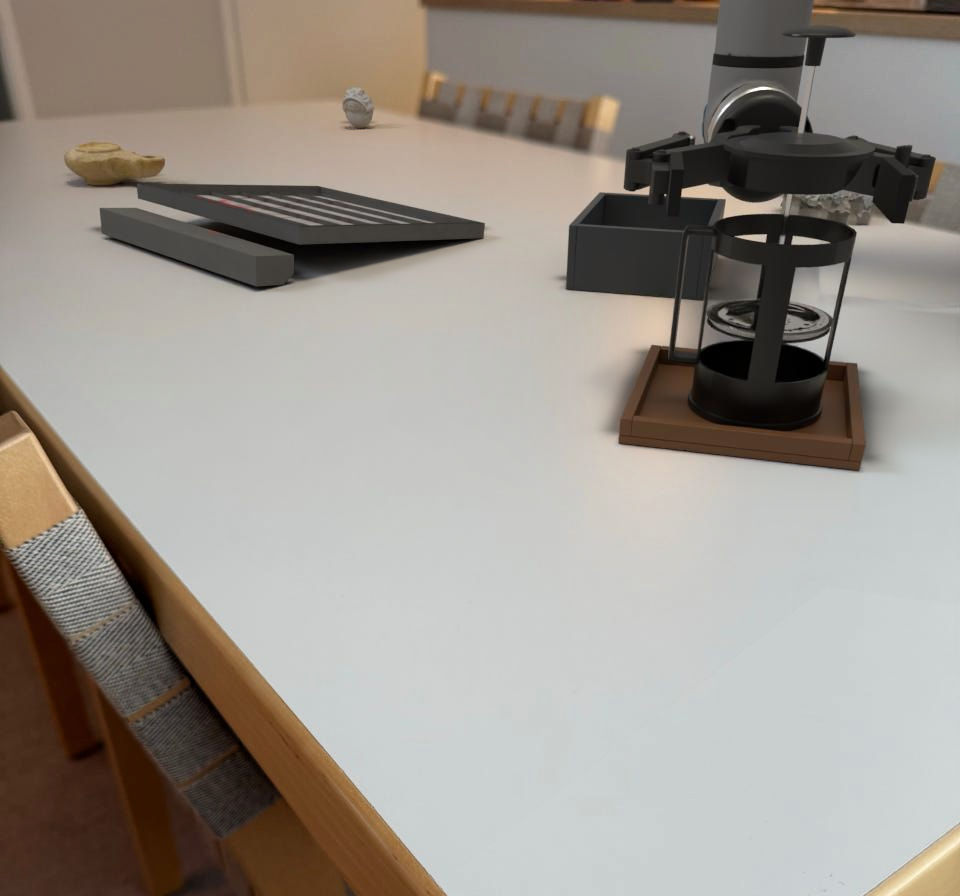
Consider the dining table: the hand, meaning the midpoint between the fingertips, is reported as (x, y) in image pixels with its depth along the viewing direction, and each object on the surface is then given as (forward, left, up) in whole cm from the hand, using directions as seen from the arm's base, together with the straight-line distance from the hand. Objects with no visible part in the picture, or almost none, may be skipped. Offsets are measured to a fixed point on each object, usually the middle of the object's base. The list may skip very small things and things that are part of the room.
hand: (787, 196), depth 59 cm
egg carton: (-5, -66, -15) cm, 68 cm away
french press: (0, -2, -15) cm, 15 cm away
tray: (+1, -2, -15) cm, 15 cm away
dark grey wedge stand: (+55, -42, -15) cm, 71 cm away
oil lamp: (+94, -66, -15) cm, 116 cm away
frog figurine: (+81, -128, -15) cm, 152 cm away
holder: (+13, -38, -15) cm, 43 cm away
